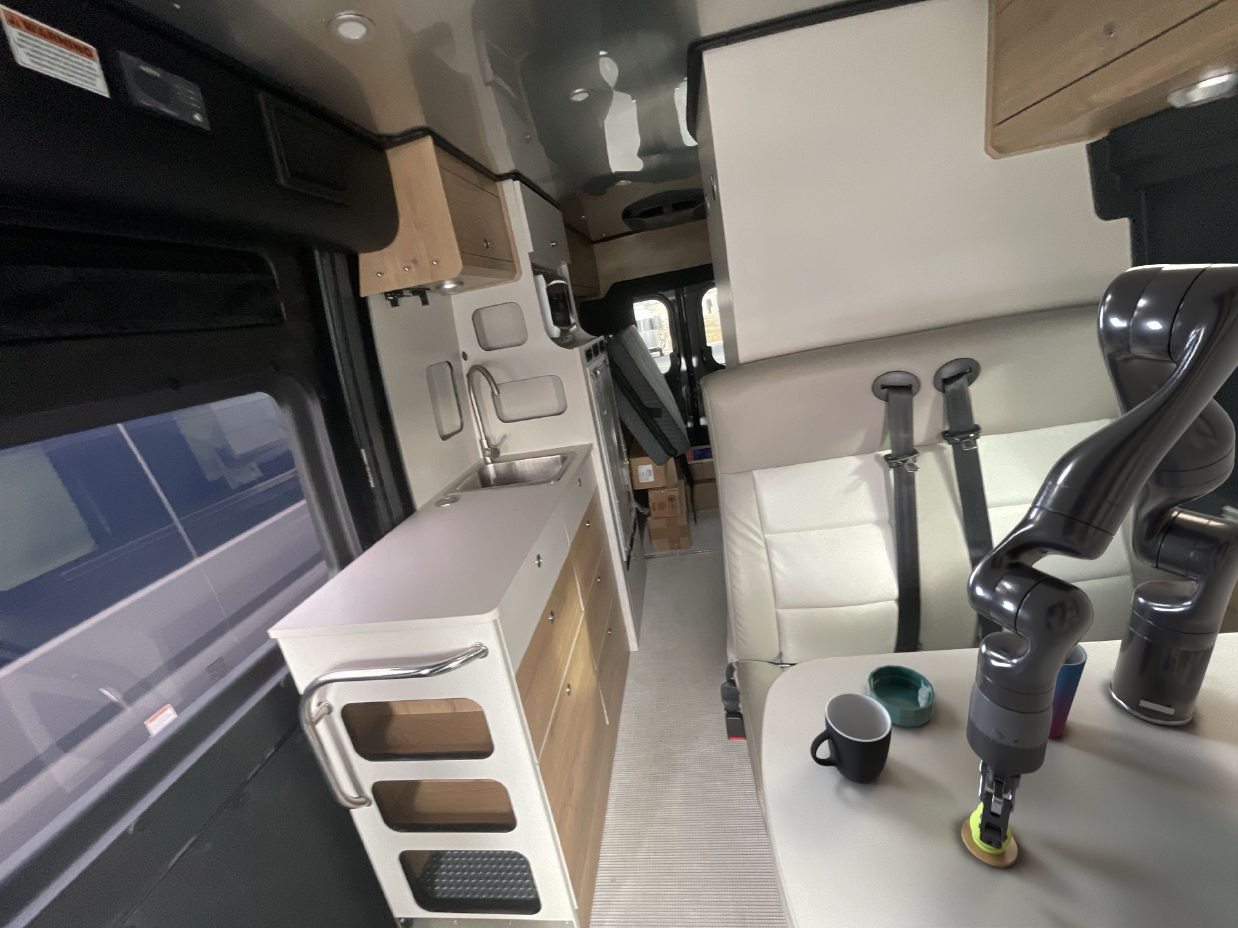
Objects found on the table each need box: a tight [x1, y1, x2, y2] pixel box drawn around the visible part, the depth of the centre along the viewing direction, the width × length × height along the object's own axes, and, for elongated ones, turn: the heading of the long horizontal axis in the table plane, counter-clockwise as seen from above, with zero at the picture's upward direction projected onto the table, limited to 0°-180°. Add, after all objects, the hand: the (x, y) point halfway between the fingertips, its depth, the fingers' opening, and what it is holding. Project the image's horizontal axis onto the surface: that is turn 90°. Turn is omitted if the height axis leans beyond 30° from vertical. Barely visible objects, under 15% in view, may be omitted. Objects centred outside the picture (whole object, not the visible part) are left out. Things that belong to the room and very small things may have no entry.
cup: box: [1049, 643, 1088, 739], centre depth 80 cm, size 7×7×15 cm
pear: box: [969, 802, 1013, 854], centre depth 67 cm, size 4×4×8 cm
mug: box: [809, 692, 893, 784], centre depth 79 cm, size 12×9×10 cm
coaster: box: [960, 817, 1019, 868], centre depth 69 cm, size 6×6×1 cm
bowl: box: [866, 664, 936, 728], centre depth 89 cm, size 10×10×4 cm
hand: (993, 812), depth 67 cm, fingers open, 8 cm apart
